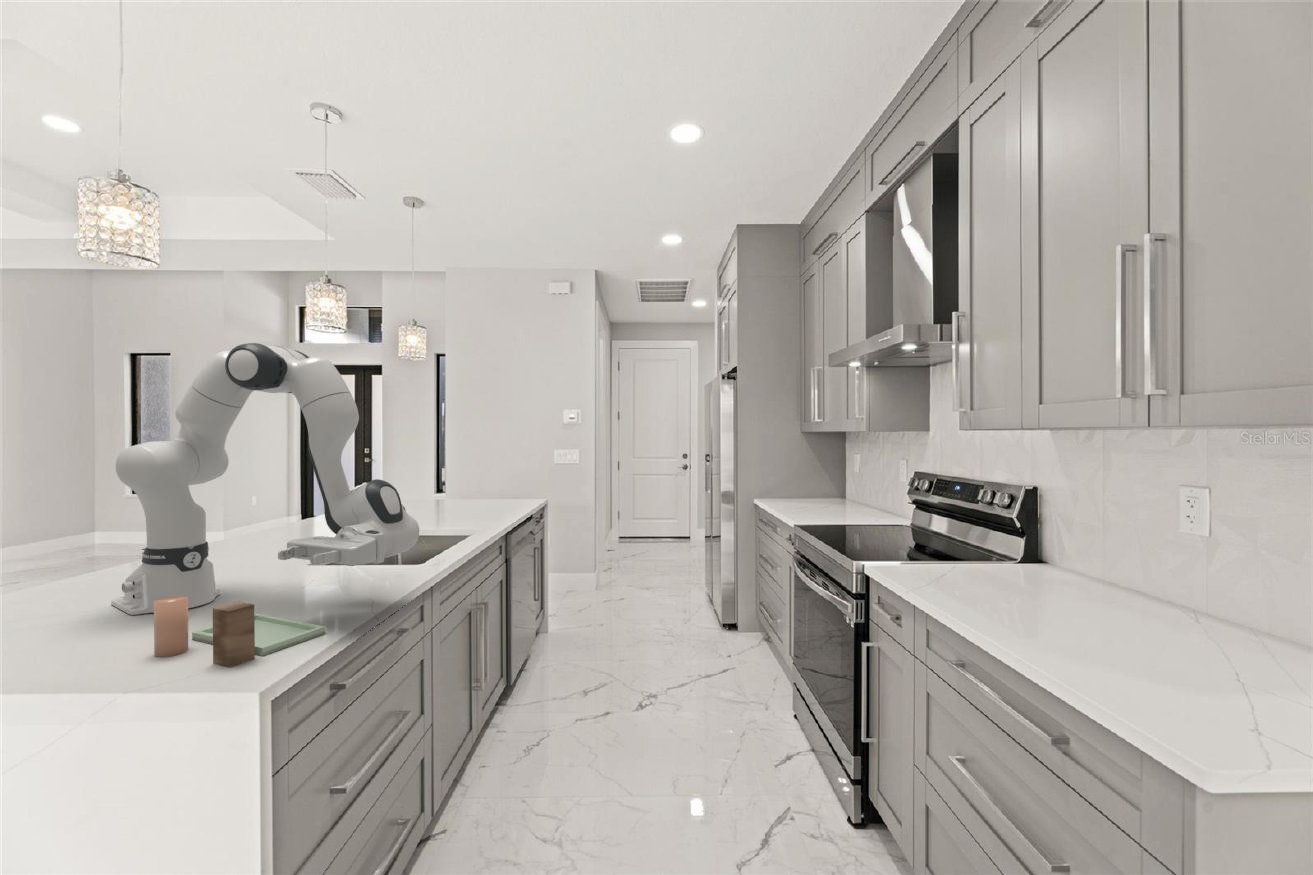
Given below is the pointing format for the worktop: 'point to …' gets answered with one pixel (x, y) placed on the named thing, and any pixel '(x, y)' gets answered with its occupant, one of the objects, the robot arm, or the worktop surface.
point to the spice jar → (170, 626)
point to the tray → (271, 633)
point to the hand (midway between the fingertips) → (296, 557)
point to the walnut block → (233, 634)
